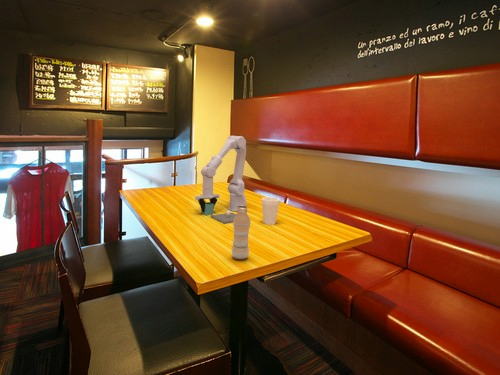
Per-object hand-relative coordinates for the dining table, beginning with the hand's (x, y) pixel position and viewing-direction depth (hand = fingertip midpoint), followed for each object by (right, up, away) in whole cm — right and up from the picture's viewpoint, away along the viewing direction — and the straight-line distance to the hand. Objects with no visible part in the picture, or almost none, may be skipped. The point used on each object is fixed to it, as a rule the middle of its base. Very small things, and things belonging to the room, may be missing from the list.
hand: (207, 211), depth 181 cm
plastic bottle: (+20, -14, -59) cm, 64 cm away
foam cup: (+34, -5, -12) cm, 37 cm away
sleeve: (0, -1, 0) cm, 1 cm away
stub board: (+12, -3, -8) cm, 15 cm away
